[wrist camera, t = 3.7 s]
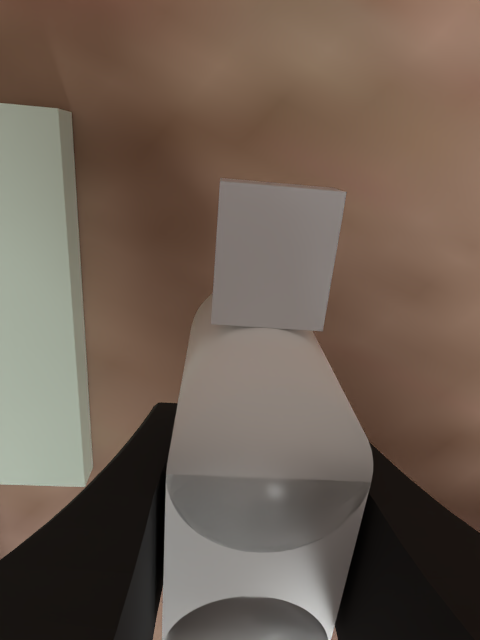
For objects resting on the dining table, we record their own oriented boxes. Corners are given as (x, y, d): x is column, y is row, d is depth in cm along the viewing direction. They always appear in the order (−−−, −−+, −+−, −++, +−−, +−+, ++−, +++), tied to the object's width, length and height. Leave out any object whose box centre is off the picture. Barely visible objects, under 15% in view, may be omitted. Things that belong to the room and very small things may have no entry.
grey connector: (331, 182, 9) (441, 211, 5) (281, 503, 13) (315, 702, 8) (197, 171, 9) (173, 188, 4) (183, 500, 13) (160, 702, 8)
